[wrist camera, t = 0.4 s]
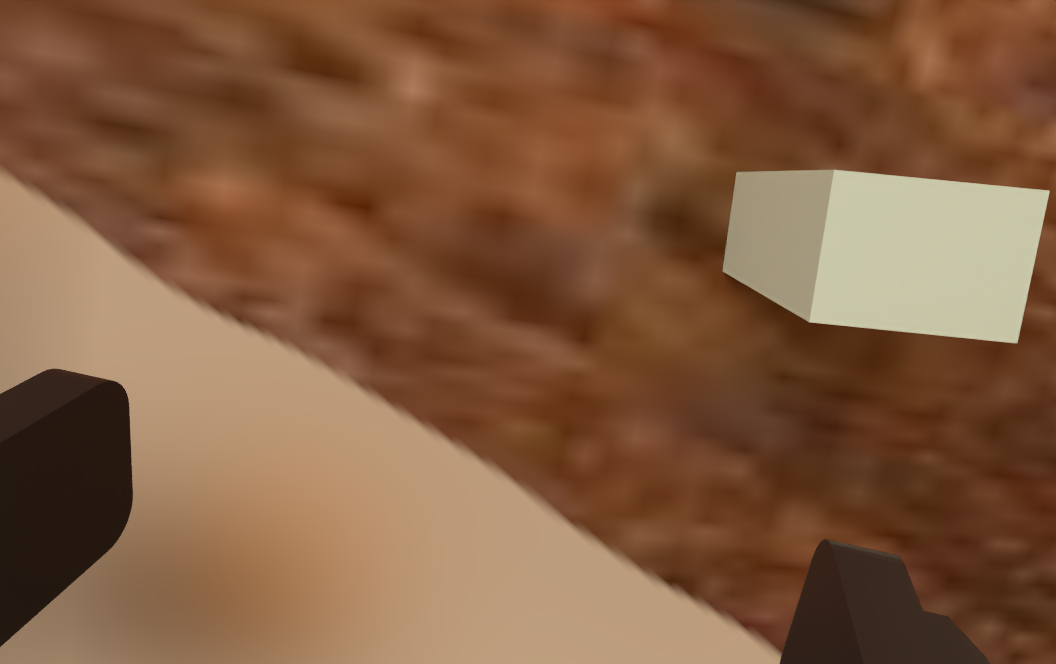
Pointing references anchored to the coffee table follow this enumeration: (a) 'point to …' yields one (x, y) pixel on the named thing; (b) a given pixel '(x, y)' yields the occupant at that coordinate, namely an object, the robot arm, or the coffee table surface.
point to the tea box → (887, 250)
